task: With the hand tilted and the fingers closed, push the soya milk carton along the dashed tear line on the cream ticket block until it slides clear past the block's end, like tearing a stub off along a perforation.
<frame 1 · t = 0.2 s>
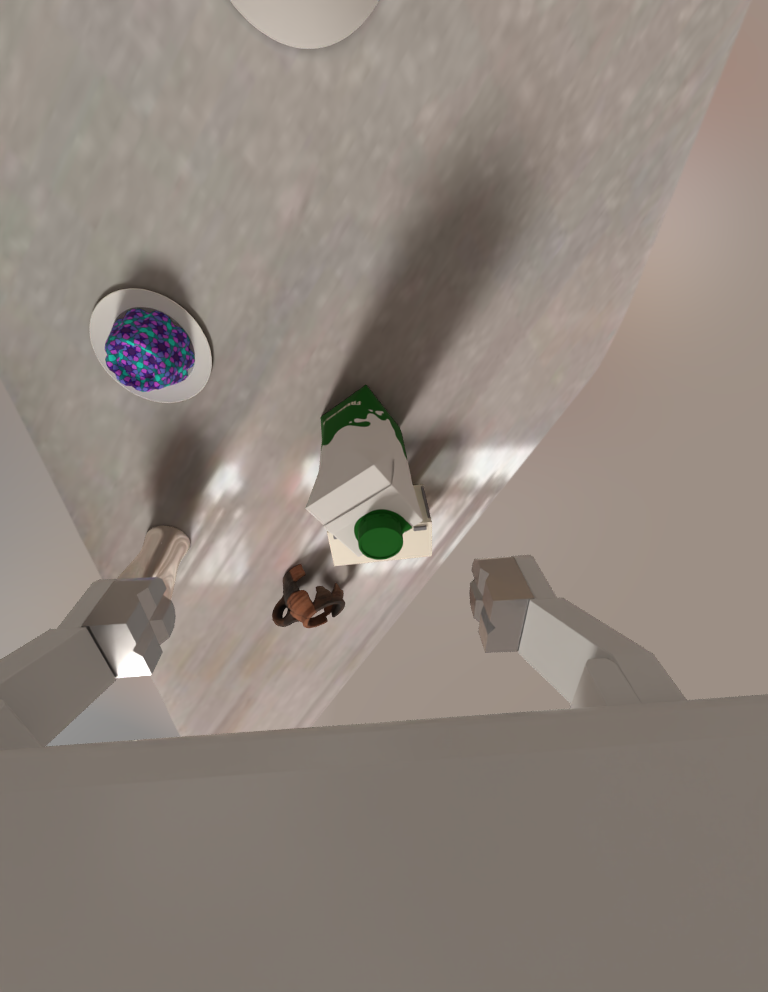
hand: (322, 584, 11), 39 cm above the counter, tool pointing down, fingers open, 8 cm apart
soya milk: (360, 421, 51), on the counter
beer glass: (169, 539, 61), on the counter
pudding: (155, 347, 45), on the counter
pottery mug: (307, 584, 69), on the counter
ticket block: (377, 505, 59), on the counter
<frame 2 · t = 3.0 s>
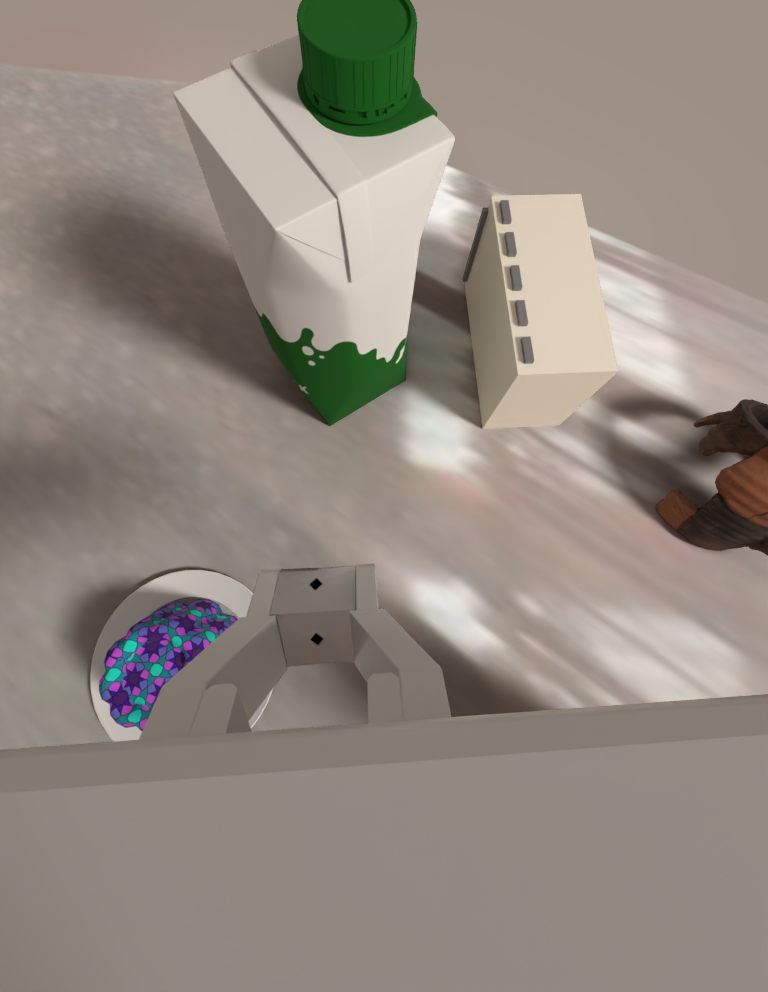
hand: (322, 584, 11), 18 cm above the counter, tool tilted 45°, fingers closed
soya milk: (343, 371, 33), on the counter
pudding: (191, 660, 28), on the counter
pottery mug: (718, 501, 31), on the counter
ticket block: (509, 352, 34), on the counter
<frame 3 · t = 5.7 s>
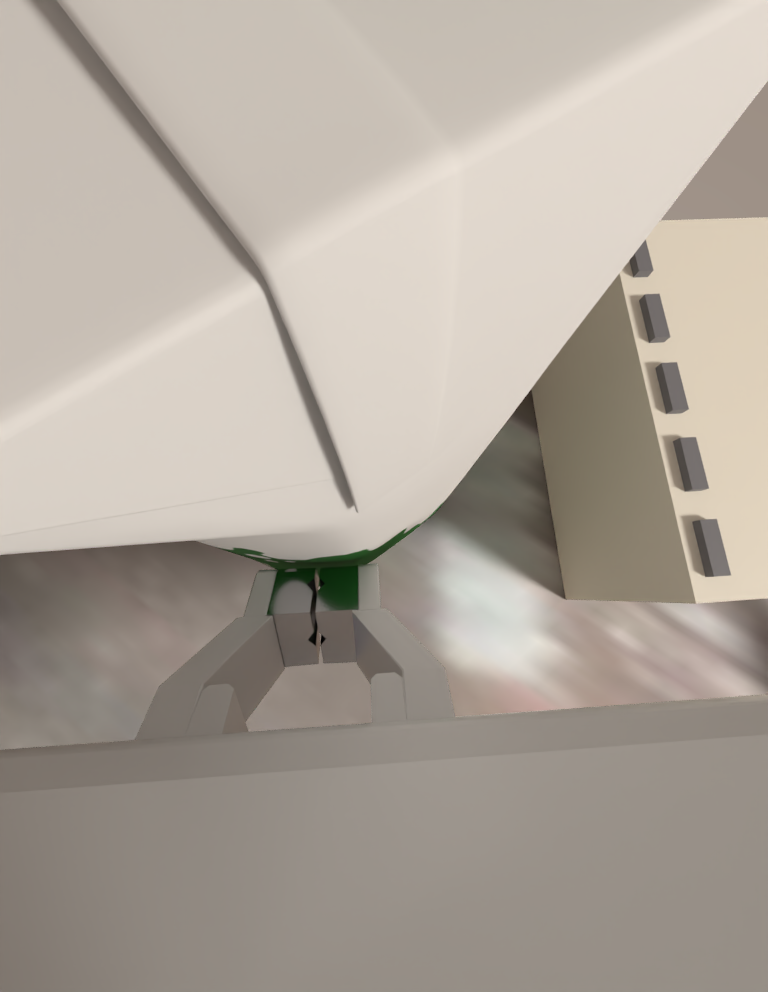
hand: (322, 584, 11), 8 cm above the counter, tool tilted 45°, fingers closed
soya milk: (337, 486, 20), on the counter, touching gripper
ticket block: (601, 463, 21), on the counter
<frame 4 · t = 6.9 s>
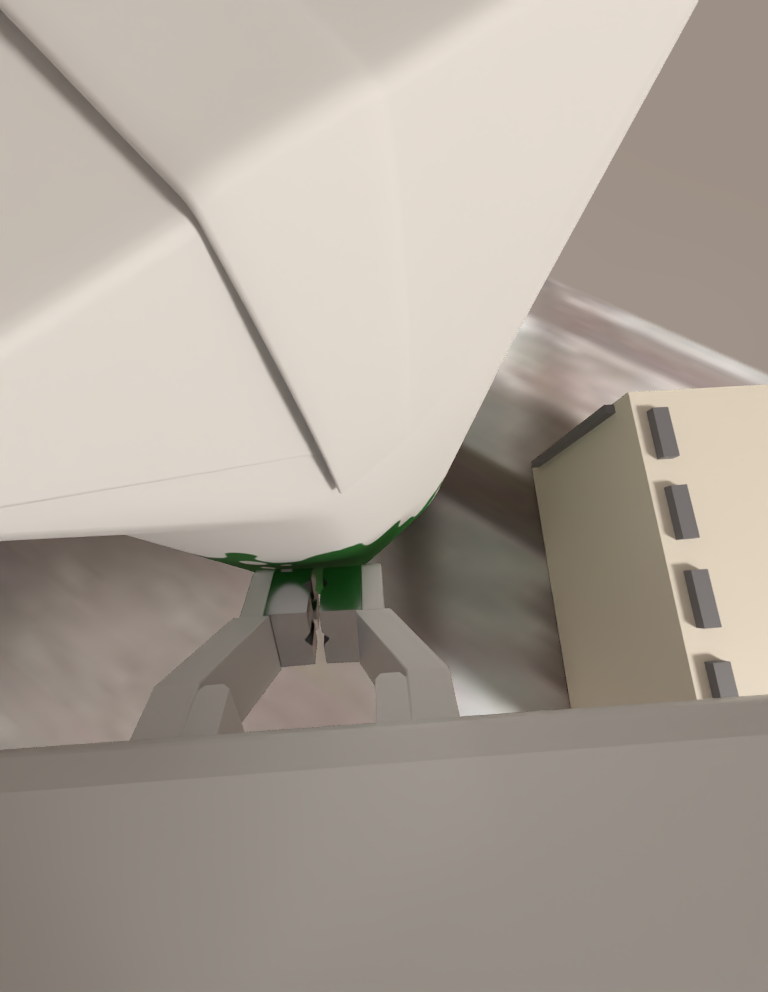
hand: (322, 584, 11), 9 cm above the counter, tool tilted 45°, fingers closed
soya milk: (329, 492, 20), on the counter, touching gripper
ticket block: (613, 591, 20), on the counter
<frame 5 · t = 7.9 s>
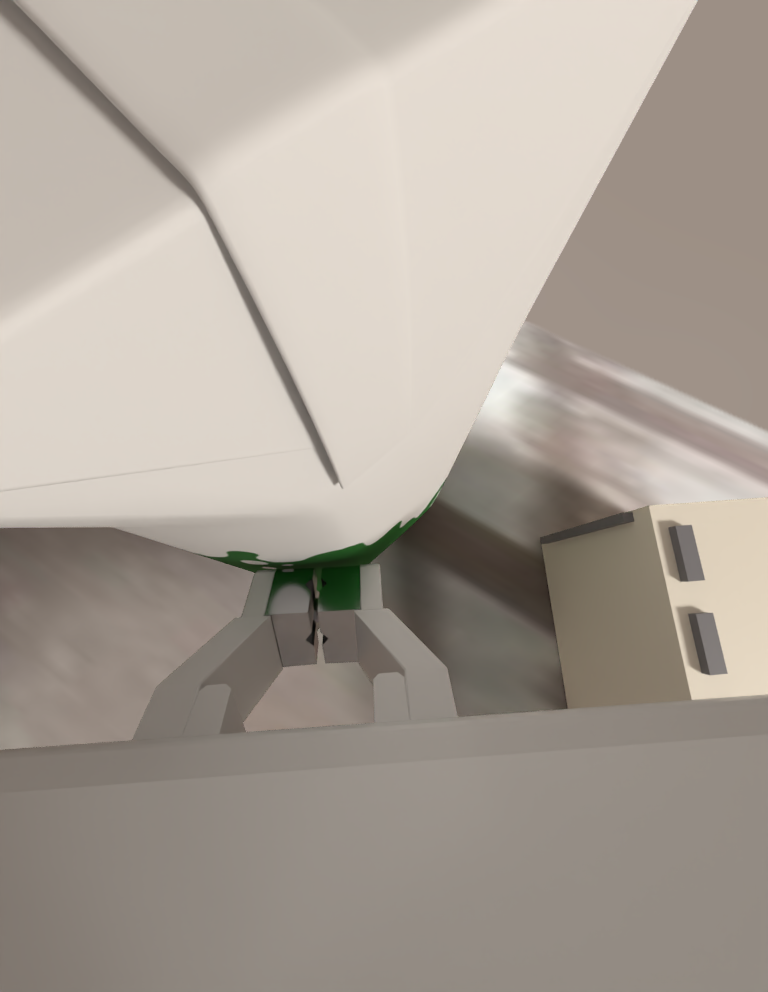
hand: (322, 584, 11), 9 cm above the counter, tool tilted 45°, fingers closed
soya milk: (331, 494, 20), on the counter, touching gripper
ticket block: (626, 673, 19), on the counter
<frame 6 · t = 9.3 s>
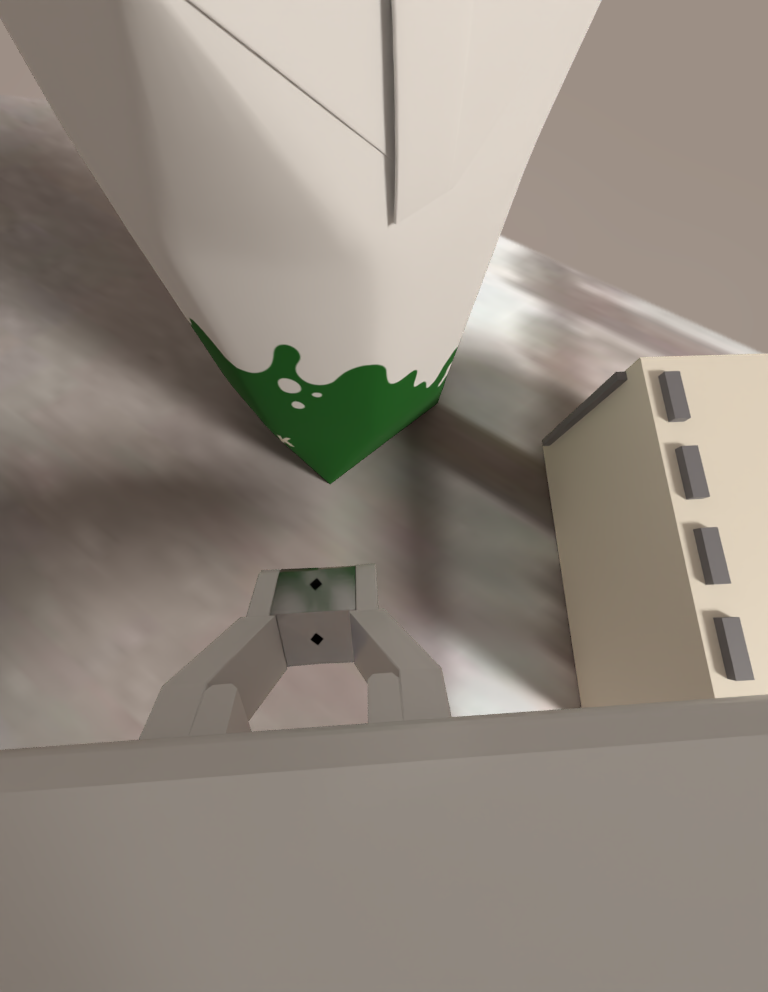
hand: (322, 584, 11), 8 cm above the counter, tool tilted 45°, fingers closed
soya milk: (342, 395, 22), on the counter
ticket block: (622, 570, 20), on the counter
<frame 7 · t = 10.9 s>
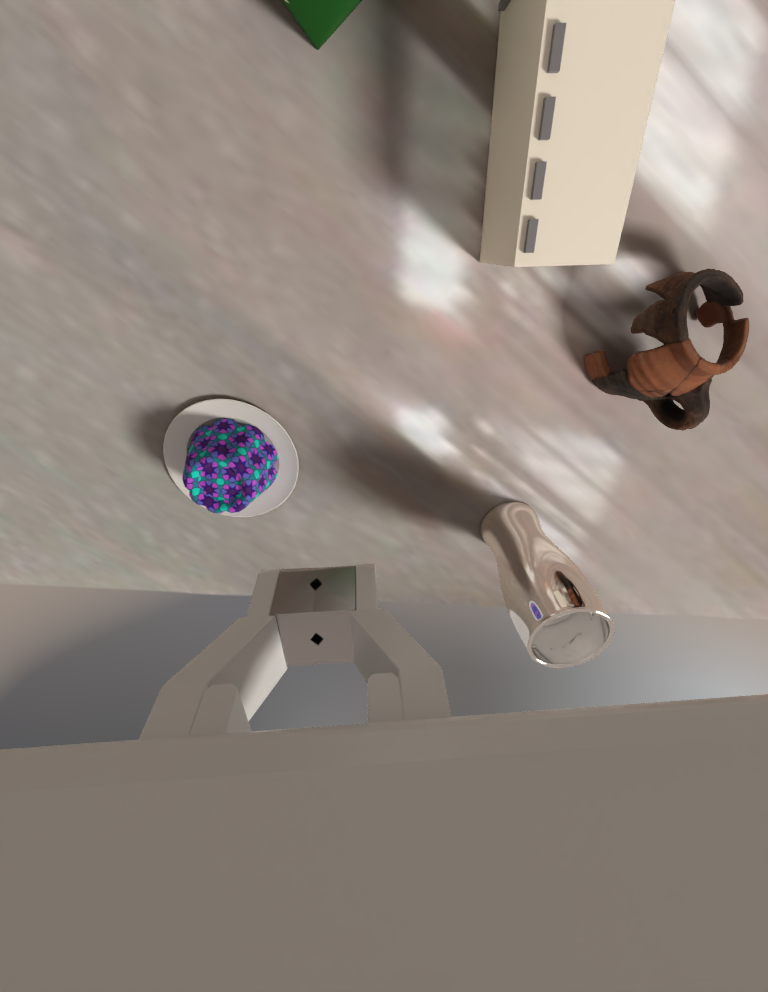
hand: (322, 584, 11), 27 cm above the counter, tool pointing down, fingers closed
beer glass: (507, 524, 44), on the counter
pudding: (235, 458, 39), on the counter
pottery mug: (642, 349, 36), on the counter
ticket block: (533, 150, 28), on the counter
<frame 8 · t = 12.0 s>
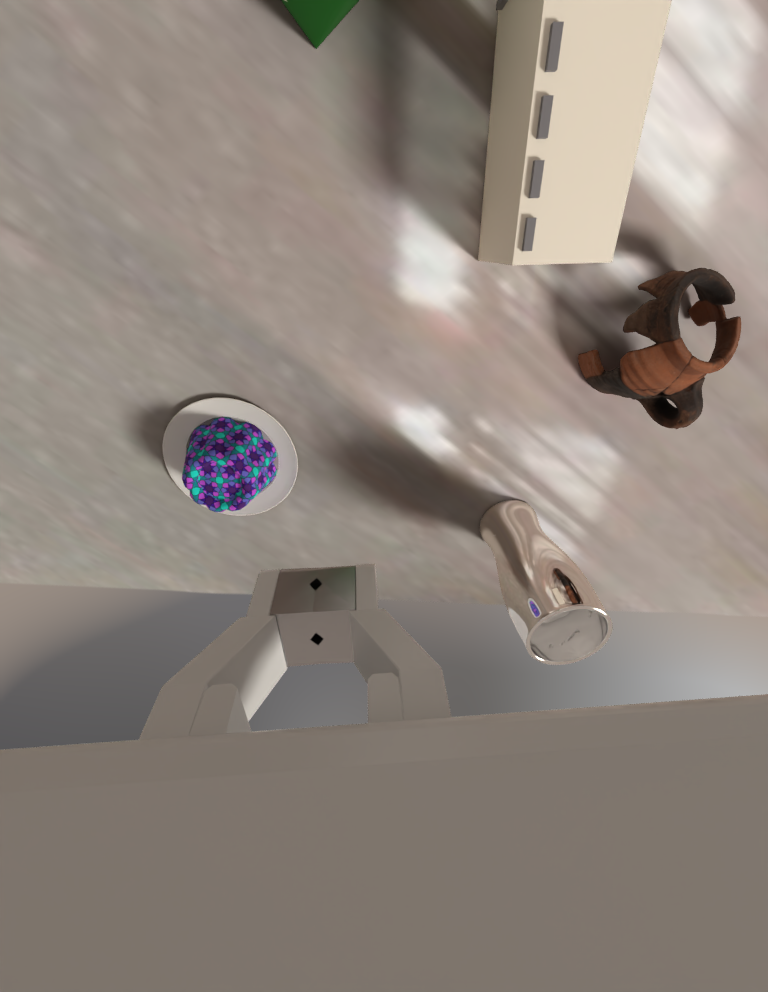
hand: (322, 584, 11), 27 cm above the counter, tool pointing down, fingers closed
beer glass: (506, 522, 44), on the counter
pudding: (234, 456, 39), on the counter
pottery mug: (636, 348, 36), on the counter
ticket block: (531, 148, 28), on the counter
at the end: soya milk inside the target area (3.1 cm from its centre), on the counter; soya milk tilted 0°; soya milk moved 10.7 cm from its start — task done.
